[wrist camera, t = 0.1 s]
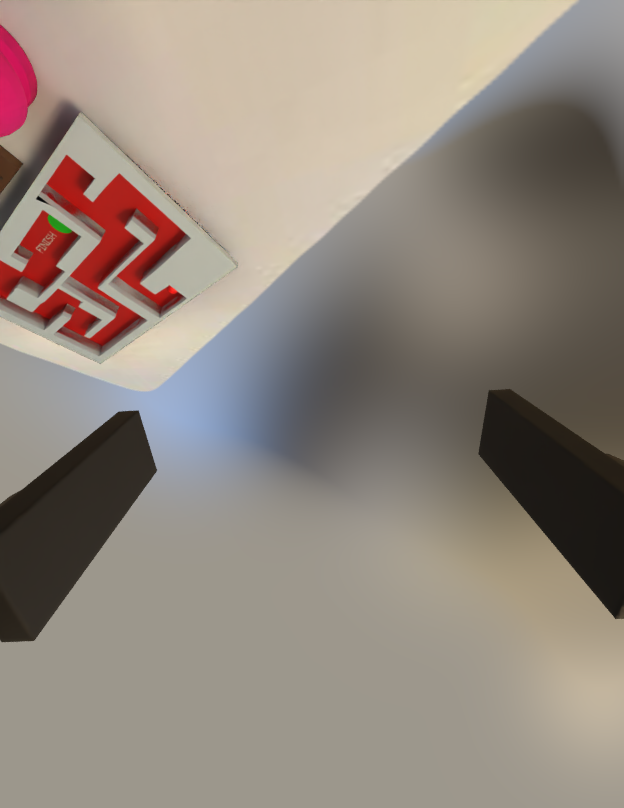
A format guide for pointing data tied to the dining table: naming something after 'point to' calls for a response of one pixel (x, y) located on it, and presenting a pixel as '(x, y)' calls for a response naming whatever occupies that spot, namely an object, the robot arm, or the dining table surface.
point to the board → (7, 167)
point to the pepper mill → (14, 84)
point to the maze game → (100, 250)
